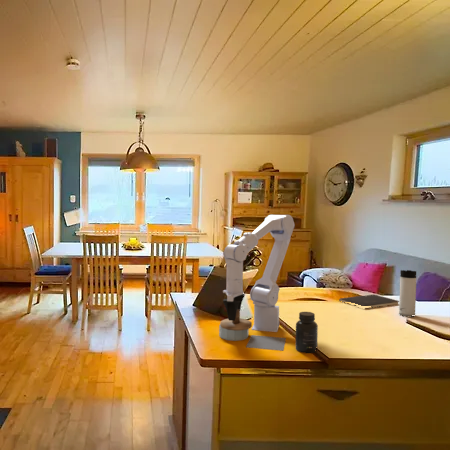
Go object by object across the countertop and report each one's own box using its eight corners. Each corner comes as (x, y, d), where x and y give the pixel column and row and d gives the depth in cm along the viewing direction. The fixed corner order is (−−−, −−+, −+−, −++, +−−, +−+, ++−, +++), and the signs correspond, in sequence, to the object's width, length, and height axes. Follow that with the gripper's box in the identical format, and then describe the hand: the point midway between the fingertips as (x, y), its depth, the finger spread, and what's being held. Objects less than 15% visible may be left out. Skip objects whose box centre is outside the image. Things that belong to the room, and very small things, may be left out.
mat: (285, 339, 130) (285, 338, 130) (283, 351, 118) (283, 350, 118) (251, 336, 132) (251, 335, 132) (245, 348, 121) (245, 347, 121)
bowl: (250, 333, 136) (250, 322, 135) (245, 342, 126) (245, 330, 126) (223, 330, 138) (223, 320, 138) (216, 340, 128) (216, 328, 128)
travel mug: (399, 316, 160) (400, 269, 159) (398, 312, 166) (400, 267, 165) (415, 318, 158) (417, 271, 157) (414, 314, 164) (415, 268, 163)
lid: (254, 322, 135) (255, 307, 135) (247, 331, 125) (247, 315, 124) (225, 319, 138) (225, 304, 138) (216, 328, 128) (216, 312, 128)
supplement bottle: (292, 346, 123) (293, 310, 122) (313, 346, 123) (314, 310, 123) (298, 354, 116) (299, 316, 115) (320, 354, 116) (321, 316, 116)
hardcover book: (399, 305, 181) (399, 300, 181) (363, 310, 171) (363, 305, 171) (373, 298, 195) (373, 294, 195) (339, 302, 185) (339, 298, 185)
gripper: (227, 274, 139) (227, 310, 140) (218, 281, 125) (218, 322, 125) (246, 275, 137) (246, 312, 138) (239, 283, 123) (238, 323, 124)
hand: (234, 317), depth 132 cm, fingers open, 7 cm apart
